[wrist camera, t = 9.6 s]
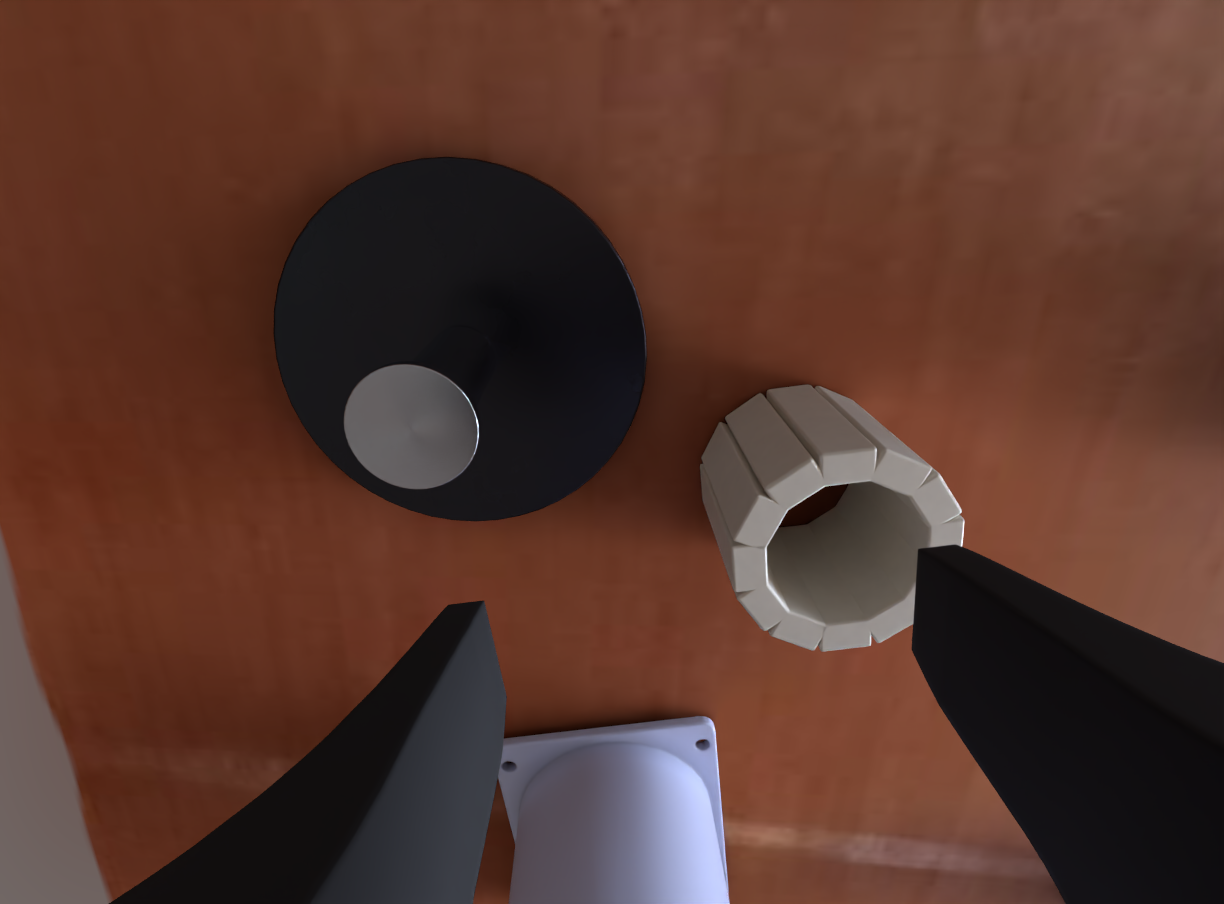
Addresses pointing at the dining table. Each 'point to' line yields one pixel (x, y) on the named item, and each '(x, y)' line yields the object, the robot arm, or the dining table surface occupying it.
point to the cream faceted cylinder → (822, 517)
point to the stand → (460, 338)
